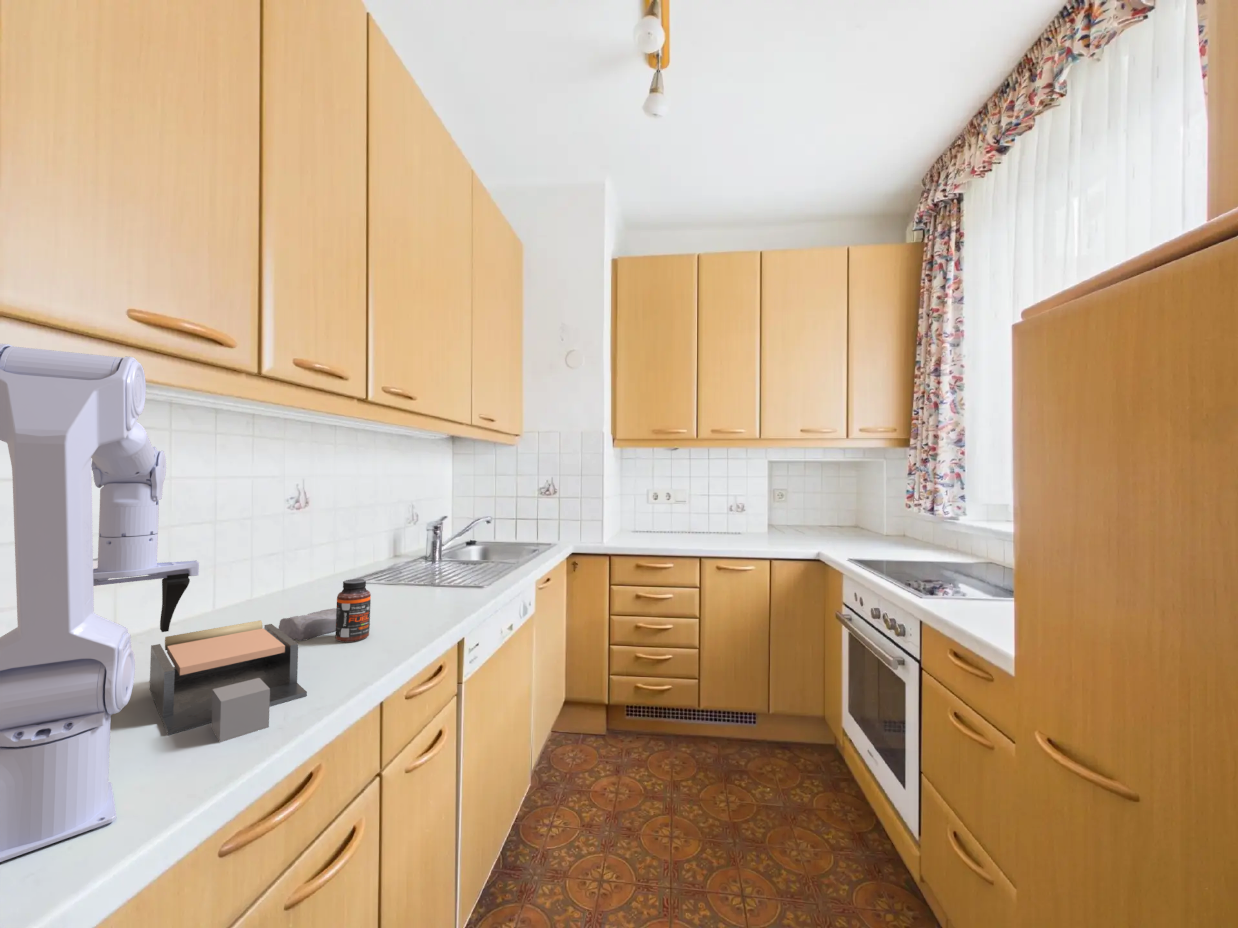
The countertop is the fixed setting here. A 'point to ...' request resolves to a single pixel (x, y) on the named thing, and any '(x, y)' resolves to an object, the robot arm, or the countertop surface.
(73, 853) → the countertop surface
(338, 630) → the supplement bottle
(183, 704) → the trapdoor frame
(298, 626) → the stone block
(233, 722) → the grey cube
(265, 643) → the trapdoor
